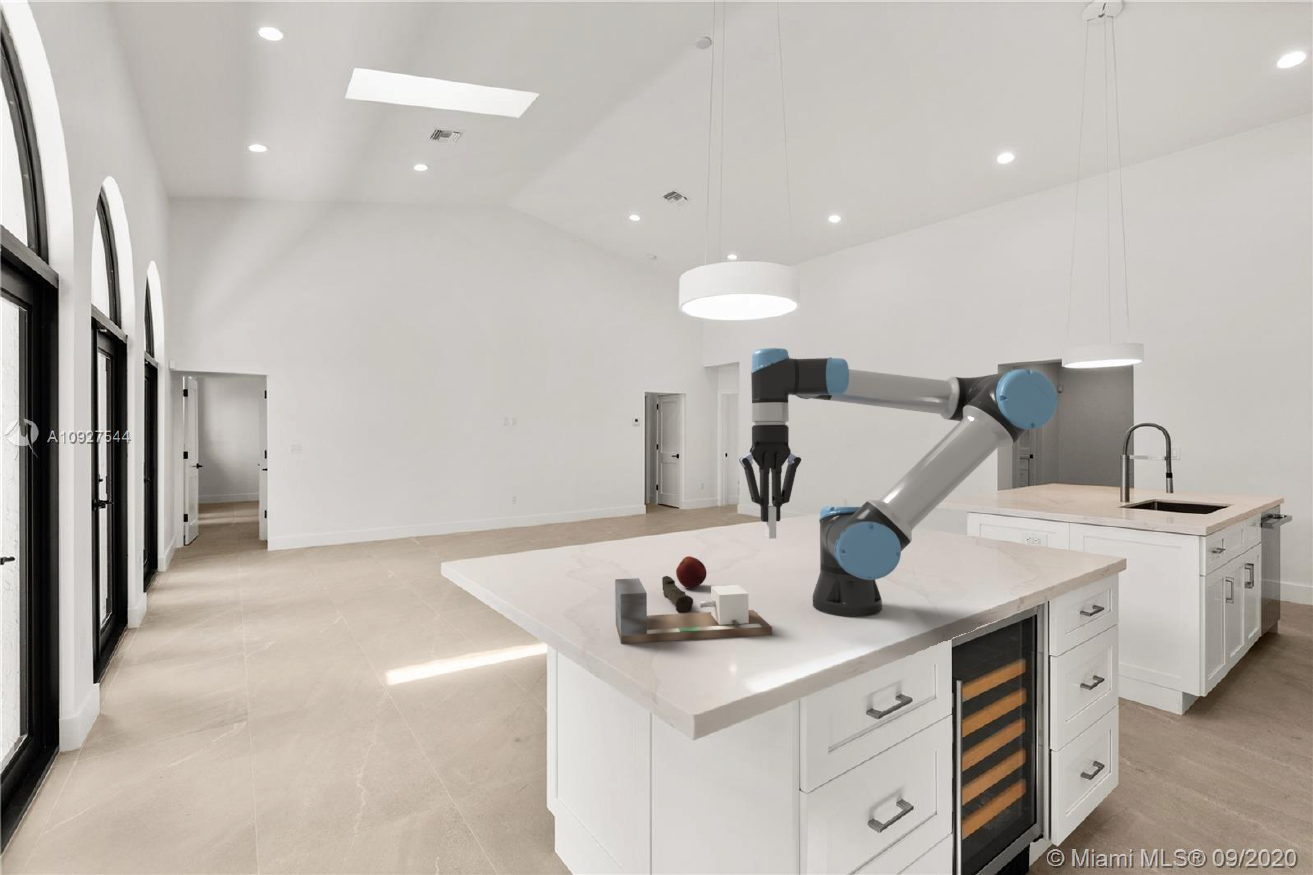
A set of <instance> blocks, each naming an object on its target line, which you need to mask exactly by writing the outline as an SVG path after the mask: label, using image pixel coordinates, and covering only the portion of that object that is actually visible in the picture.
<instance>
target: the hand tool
mask: <svg viewBox="0 0 1313 875" xmlns="http://www.w3.org/2000/svg"><path fill="white" fill-rule="evenodd" d="M661 579H662V581H661V584H662V591H663V592H662V593H663V595H664V598H665V599H666V598H667V599H668V600H669V601H670V602H672V604H673V605H674V606H675V611H676V612H677V614H685V613H691V611H692V610H693V605H694V598H693V597H692V596H689V595H687V594H686V592H685V591H684V590H681V589H680V588H679V587H678V586H677V585H676V583H675V580H674V579H673V578H672V577H671V576H668V575H665V576H663V577H662V578H661Z"/></svg>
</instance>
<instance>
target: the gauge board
mask: <svg viewBox="0 0 1313 875" xmlns="http://www.w3.org/2000/svg"><path fill="white" fill-rule="evenodd" d="M614 583H615V585H614V593H615V595H614V597H615V600H614V601H615V604H614V605H615V607H614V608H615V628H616V632H617V634H618V637H619V641H620V644H621V645H622V644H637V643H639V644H640V643H652V642H656V643H657V642H670V641H686V640H689V641H690V640H704V639H717V638H720V639H723V638H734V637H735V638H737V637H750V636H753V637H754V636H755V637H756V636H767V635H769V636H770V635H772V633H773V626H771V625H770V624H769V623H768V622H767V621H766V620H765V619H764V618H763V617H762V616H760V615H759V614H758V613H757V611H755V610H754V609H748V615H749V623H744V624H740V626H735V625H734V624H726V625H719V624H718V622H717V621H716V620H715V619H714V617H713V616H712V615H711V611H708V612H707V611H705V612H685V613H672V614H671V613H670V614H669V613H668V614H667V613H665V614H651V615H648V612H647V611H648V608H647V607H648V605H647V604H648V603H647V602H648V601H647V600H648V599H647V596H648V594H647V590H646V589H645V587H644V585H643V584H642V581H641V580H640V578H637V577H636V578H635V577H633V578H617V579H615V580H614Z"/></svg>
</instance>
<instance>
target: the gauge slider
mask: <svg viewBox="0 0 1313 875" xmlns="http://www.w3.org/2000/svg"><path fill="white" fill-rule="evenodd" d="M699 604H700V608H710V609H711V610H710V612H711V615H712V616H713V617H714V619H715V620H716V621H717V622H718V624H719V625H726V624H734V625H735V626H740V624H744V623H749V615H748V610H749V593H748V592H747V591H746V590H745V589H744V588H743V587H742V586H740V584H736V585H734V584H733V585H732V584H731V585H729V584H728V585H716V586H715V585H711V586H710V600H703V601H702V600H701V601H700V603H699Z"/></svg>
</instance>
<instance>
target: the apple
mask: <svg viewBox="0 0 1313 875" xmlns="http://www.w3.org/2000/svg"><path fill="white" fill-rule="evenodd" d="M706 568H707V567H705V565H704V563H703V562H702V561H701V560H700V559H698V558H696V557H693V556H689V555H687V556H685V557H683V559H682V560H681V561H680V563H679V564H678V566H677V567H676V569H675V570H676V571H675V575H676V578H677V581H678V582H679V583H680V585H682V587H683V588H685V589H694V588H697V587H700V586H701V585H702V584H703V583H704V582H705V580H706V578H707V569H706Z"/></svg>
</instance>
